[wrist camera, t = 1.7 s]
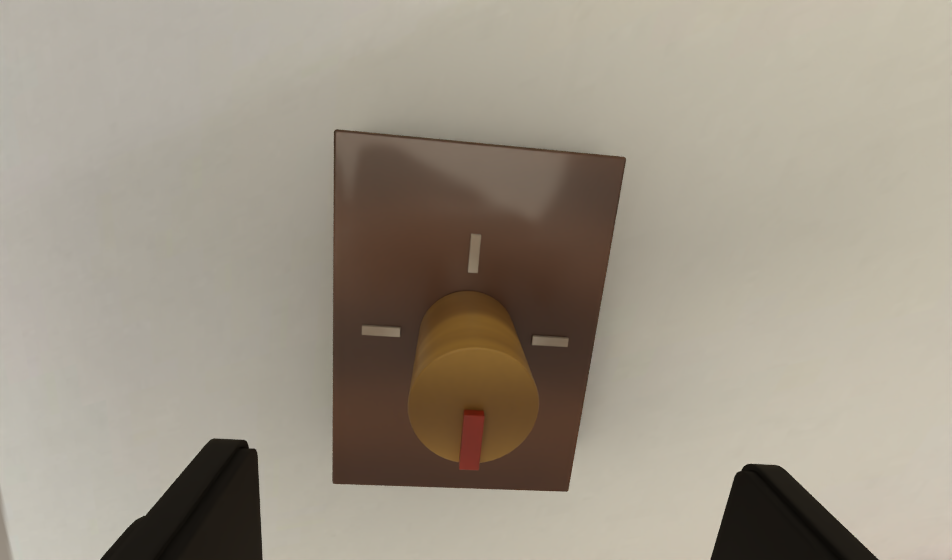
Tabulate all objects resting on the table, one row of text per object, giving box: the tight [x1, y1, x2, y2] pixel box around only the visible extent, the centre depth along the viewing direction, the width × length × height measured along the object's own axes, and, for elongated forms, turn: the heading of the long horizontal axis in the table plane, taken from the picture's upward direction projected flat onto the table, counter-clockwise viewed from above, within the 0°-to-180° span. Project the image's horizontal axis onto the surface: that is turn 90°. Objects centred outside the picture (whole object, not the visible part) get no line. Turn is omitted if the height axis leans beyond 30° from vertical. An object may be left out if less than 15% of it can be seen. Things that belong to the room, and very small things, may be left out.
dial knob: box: [408, 291, 539, 470], centre depth 14 cm, size 4×4×5 cm
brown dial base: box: [332, 129, 626, 492], centre depth 18 cm, size 14×10×3 cm
